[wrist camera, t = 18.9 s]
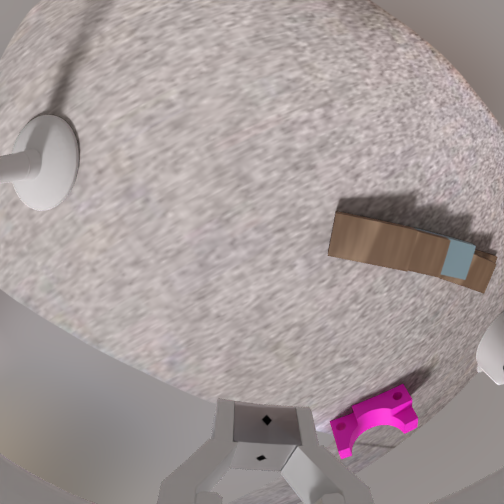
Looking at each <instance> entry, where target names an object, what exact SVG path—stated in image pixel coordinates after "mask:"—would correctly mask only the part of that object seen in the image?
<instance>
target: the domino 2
mask: <svg viewBox="0 0 504 504" xmlns="http://www.w3.org/2000/svg"><path fill="white" fill-rule="evenodd" d="M416 230H417V229H416ZM417 231H418V234H417V238H416V242H415V246H414V249H413V253H412V257H411V260H410V264H409V267H408V271H413V272H417V273H422V274H426V275H431V276H435V277H440V274H441V271H442V268H443V265H444V262H445V258H446V255H447V252H448V248H449V245H450V241H451V240H449V239H448V238H446V237H443V236H439V235H436V234H432V233H428V232H424V231H420V230H417Z"/></svg>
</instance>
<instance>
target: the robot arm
mask: <svg viewBox="0 0 504 504" xmlns="http://www.w3.org/2000/svg"><path fill="white" fill-rule="evenodd" d="M476 360H477V362H478V366H477V372H479V373H480V372H482V371H484V372H485V373H486V374H487V375H488V376H489V377H490V378H491V379H492V380H493V381H494V382H495V383H496V384H498V385H502V384H504V311H503V312H502V313H501V314H500V315H499V316H498V317H497V318H496V319H495V320H494V321H493V322H492V324H491V325H490V326H489V328H488V329H487V330H486V332H485V334H484V335H483V337H482V339H481V341H480V343H479V346H478V349H477V353H476ZM229 468H233V469H247V470H264V471H281V472H280V473H281V474H282V476H283V477H284V478H285V480H286V481H287V482H288V484H289V485H290V486H291V487H292V489H293V490H294V491H295V493H296V494H297V495H298V496H299V498H300V499H301V500H302V501H303V503H304V504H374V502H373V498H372V495H371V491H370V488H369V487H368V486H367V485H366V484H365V483H364V482H362V481H361V480H360V479H359V478H358V477H357V476H356V475H355V474H353V473H352V472H351V471H350V470H349V469H348V468H347V467H346V466H345V465H343V464H342V463H341V462H340V461H339V460H338V459H337V458H336V457H335V456H334V455H333V454H332V453H331V452H329V451H328V450H327V449H326V448H325V447H324V446H319V443H318V439H317V434H316V429H315V425H314V420H313V416H312V411H311V409H310V408H309V407H294V406H281V405H266V404H264V405H262V404H254V403H247V402H240V401H232V400H226V399H220V398H218V400H217V405H216V410H215V415H214V420H213V426H212V433H211V439H209V440H207V441H206V442H205V443H204V444H203V445H202V446H201V447H200V448H199V449H198V450H197V451H196V452H195V453H194V454H192V455H191V456H190V457H189V458H188V459H187V460H186V461H185V462H184V463H183V464H182V465H180V466H179V467H178V468H177V469H176V470H175V471H174V472H173V473H171V474H170V475H169V476H168V477H167V478H166V479H164V480H163V481H162V482H161V486H160V491H159V496H158V501H157V504H222V496H220V495H219V494H218V493H215V492H210V491H211V490H212V489H213V488H214V487H215V485H216V484H217V483H218V482H219V481H220V480H221V478H222V477H223V476H224V475H225V474H226V473H227V471H228V470H229ZM0 504H96V503H93V502H91V501H88V500H86V499H84V498H81V497H79V496H76V495H74V494H72V493H70V492H67V491H65V490H63V489H61V488H59V487H57V486H55V485H53V484H51V483H49V482H47V481H45V480H43V479H41V478H40V477H38V476H36V475H34V474H32V473H31V472H29V471H27V470H26V469H24V468H22V467H20V466H19V465H17V464H16V463H14V462H13V461H11V460H10V459H8V458H7V457H5V456H4V455H2V454H1V453H0ZM428 504H504V466H503V467H501V468H500V469H498V470H496V471H495V472H493V473H491V474H489V475H488V476H486V477H485V478H483V479H480V480H479V481H477V482H475V483H473V484H471V485H469V486H467V487H465V488H463V489H461V490H459V491H457V492H455V493H452V494H450V495H448V496H446V497H443V498H441V499H439V500H436V501H433V502H431V503H428Z"/></svg>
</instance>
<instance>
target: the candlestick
mask: <svg viewBox="0 0 504 504" xmlns="http://www.w3.org/2000/svg"><path fill="white" fill-rule="evenodd" d="M78 166H79V149H78V144H77V140H76V137H75V134H74V132H73V130H72V128H71V127H70V126H69V124H68V123H67V122H66V121H65V120H63V119H62V118H60V117H58V116H55V115H42V116H39V117H36V118H34V119H33V120H31V121H30V122H29V123H27V124H26V125H25V127H24V128H23V129H22V130H21V132H20V133H19V135H18V137H17V139H16V141H15V144H14V147H13V150H12V154H9V155H4V156H0V183H6V182H12V183H13V186H14V189H15V191H16V193H17V195H18V196H19V198H20V199H21V200H22V202H23V203H24V204H26V205H27V206H28V207H30V208H32V209H34V210H39V211H44V210H49V209H52V208H54V207H56V206H58V205H59V204H60V203H62V202H63V201H64V200H65V198H66V197H67V196H68V195H69V193H70V191H71V190H72V187H73V185H74V183H75V180H76V177H77V172H78Z"/></svg>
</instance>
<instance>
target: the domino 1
mask: <svg viewBox="0 0 504 504" xmlns="http://www.w3.org/2000/svg"><path fill="white" fill-rule="evenodd" d="M417 234H418V231H417V230H416V229H415V228H412V227H408V226H404V225H399V224H395V223H391V222H386V221H382V220H377V219H372V218H368V217H363V216H358V215H353V214H348V213H343V212H338V211H336V212H335V218H334V223H333V228H332V234H331V239H330V244H329V249H328V256H332V257H337V258H342V259H347V260H352V261H357V262H362V263H367V264H372V265H377V266H382V267H387V268H392V269H397V270H402V271H408V267H409V264H410V260H411V257H412V253H413V249H414V246H415V242H416V238H417Z"/></svg>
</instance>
